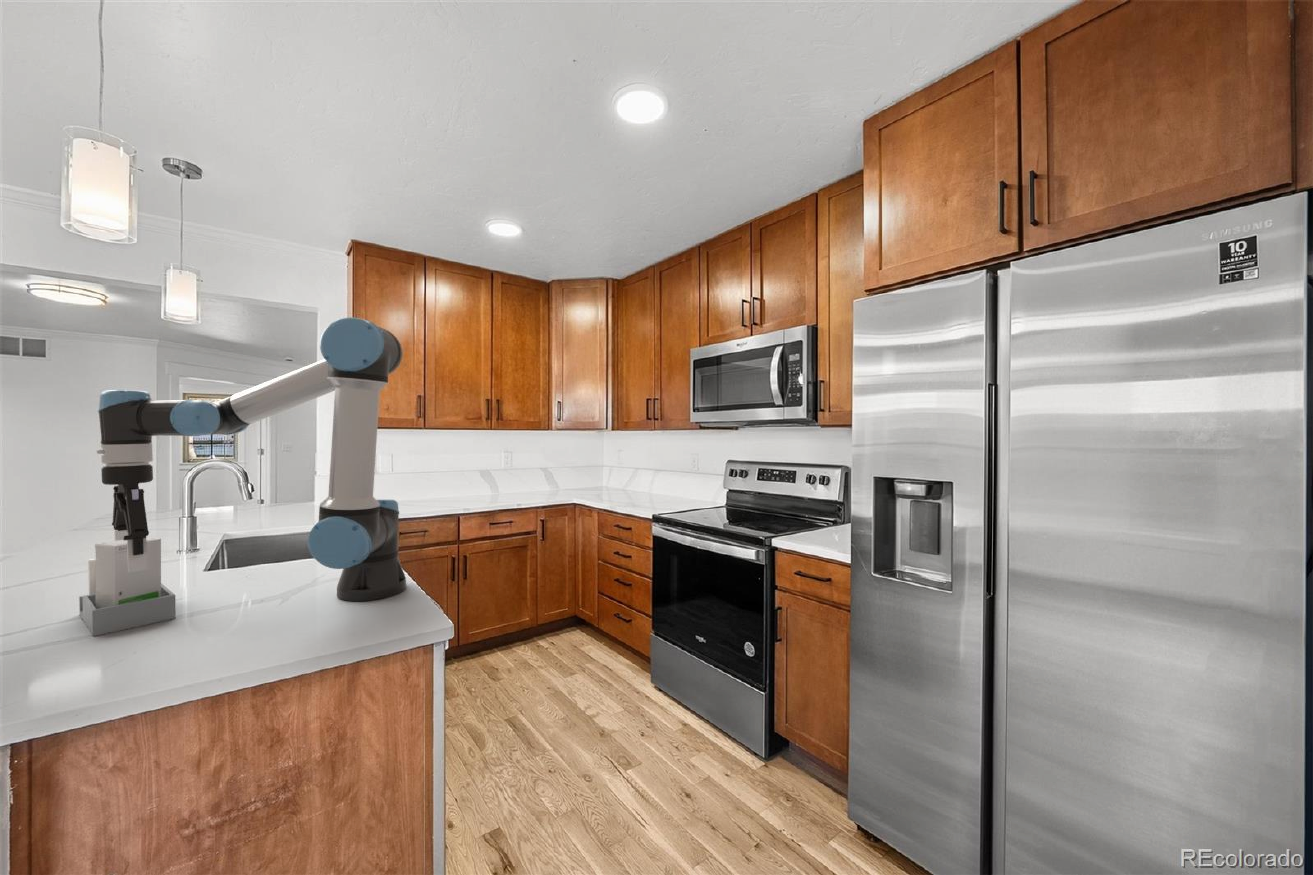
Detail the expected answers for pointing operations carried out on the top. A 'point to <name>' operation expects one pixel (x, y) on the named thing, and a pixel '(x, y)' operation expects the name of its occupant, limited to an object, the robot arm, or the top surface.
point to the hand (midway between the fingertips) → (130, 565)
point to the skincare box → (126, 574)
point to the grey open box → (123, 609)
